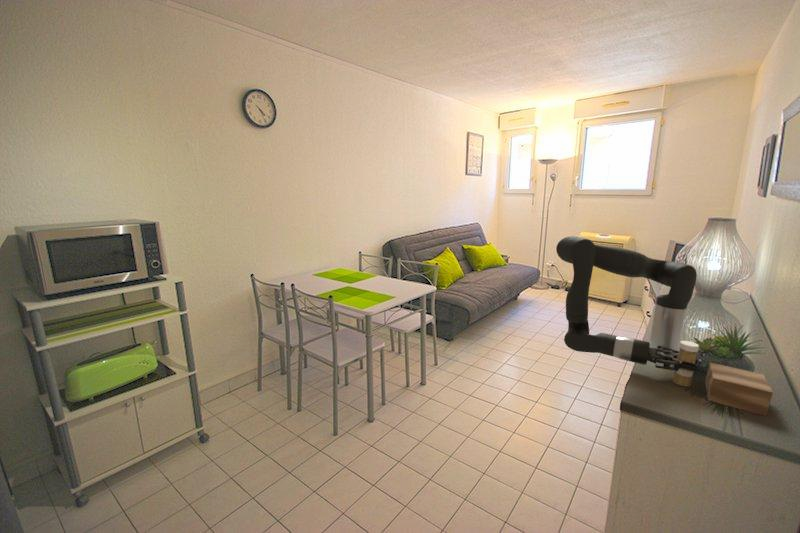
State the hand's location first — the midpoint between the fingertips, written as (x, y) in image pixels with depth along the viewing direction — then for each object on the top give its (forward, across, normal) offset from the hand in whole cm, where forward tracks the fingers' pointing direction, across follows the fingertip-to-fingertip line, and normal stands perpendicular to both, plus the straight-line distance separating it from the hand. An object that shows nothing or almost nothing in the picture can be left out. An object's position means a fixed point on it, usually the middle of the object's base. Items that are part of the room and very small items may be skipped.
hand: (696, 365), depth 109 cm
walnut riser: (+9, -1, +7) cm, 12 cm away
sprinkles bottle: (-3, 0, +7) cm, 8 cm away
